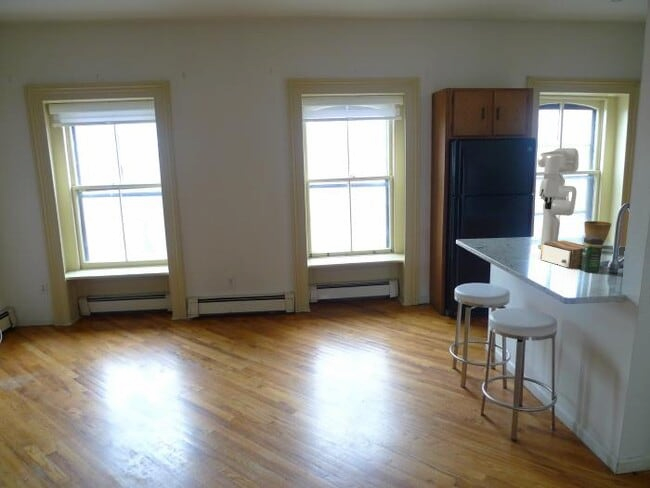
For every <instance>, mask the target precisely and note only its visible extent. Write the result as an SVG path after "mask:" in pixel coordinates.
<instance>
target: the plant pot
mask: <svg viewBox="0 0 650 488" xmlns="http://www.w3.org/2000/svg"><path fill="white" fill-rule="evenodd" d="M583 224H584V233H585V237H586V236H596V237H598V238H600V239H602V240H603V245H605V243H606V240H607V238H608V236H609V233H610V231H611V227H612V222H608V221H600V220H588V221H586V220H585V221H584V223H583Z"/></svg>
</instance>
